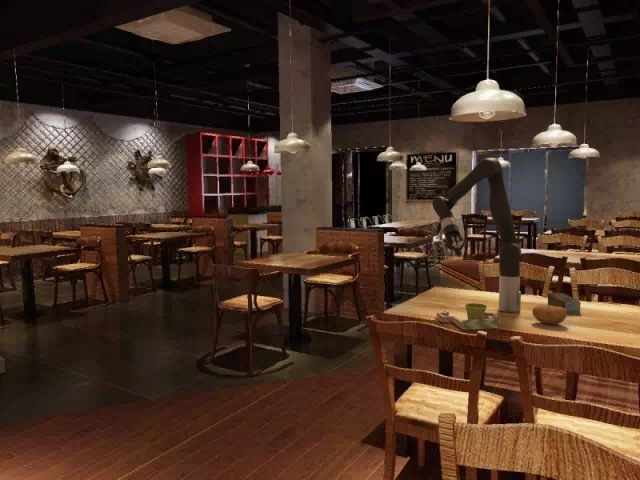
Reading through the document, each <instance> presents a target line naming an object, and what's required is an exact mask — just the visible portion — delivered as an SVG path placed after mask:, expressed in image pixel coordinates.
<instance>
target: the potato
mask: <svg viewBox="0 0 640 480" xmlns="http://www.w3.org/2000/svg"><path fill="white" fill-rule="evenodd" d="M531 311H532V316H533V317H534V319H536V320H537V321H539V322H540V323H541V324H545V325H558V324H561V323H563V322H564V321H565V319H566V318H567V316H568V313H567V312H566V310H565V309H564V308H562V307H556V306H551V305H536V306H534V307H533V308H532V310H531Z"/></svg>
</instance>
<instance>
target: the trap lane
mask: <svg viewBox="0 0 640 480" xmlns="http://www.w3.org/2000/svg"><path fill="white" fill-rule="evenodd" d="M435 314H436V319H438V320H439V321H440V320H441V321H440V322H442V323H453V324H455V325H456V326H457V327H459V328H460V329H461V330H463V331H469V330H491V329H492V330H493V328H496V329H501V316H500V315H498V314H497V313H495V312H493V311H485V314H484V319H474V320H468V319H463V320H461V319H460V318H458V317H457V316H455V315H450V312H449V311H448V310H444V311H436V313H435Z"/></svg>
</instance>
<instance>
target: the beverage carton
mask: <svg viewBox="0 0 640 480" xmlns="http://www.w3.org/2000/svg"><path fill="white" fill-rule="evenodd" d="M547 305H548V306H556V307H562V308H564V309H565V310H566V312H567V314H580V313H581V301H579V300H578V299H575V298H574V297H571V296H570V295H569V294H566V293H564V292H548V293H547Z"/></svg>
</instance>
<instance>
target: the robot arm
mask: <svg viewBox="0 0 640 480" xmlns="http://www.w3.org/2000/svg"><path fill="white" fill-rule="evenodd" d="M502 169H503V168H502V165H501V162H500V161H499V159H498V158H495V157H487V158H484V159H483V158H482V159H481V160H480V161H479V162H478V163H477V164H476V165H475V167H474V168H473V169H472V170H471V171H470V172H469V173H468V174H467V175H466V176H465V177H464V178H462V179H461V180H460V181H459V182H457V184H455V185H454V186H452V187H451V188H450V189H449V190H448V191H447V192H446V197H447V198H446V197H444V196H440V195H437V196H435V197H434V198H433V199H432V207H433V208H432V209H433V210H434V212H435V214H436V215H437V216H438V219H439V222H440V224H441V229H442V232H443V235H444V239H442V242H441V244H442V245H443V246H444V247H446V248H447V249H449V250H450V251H453V252H454V255H455V256H456V257H458V258H459V257H461V256H462V254H463V252H462V250H463V249H464V248H465V245H466V244H467V242H468V239H467V238H463V237H462V235H461V232H460V229H459V227H458V224H457V221H456V219H455V216H454V214H453V212H452V211H451V210H452V209H453V208H454V207H455V206H456V204H457V202H458V201H460V200H461V199H462V198H463V197H465V196H467V194H468V193H469V192H470V191H471V190H472V188H473V187H475V185H477V184H478V183H480V182H481V181H483V180H485V179H487V182H488V186H489V198H488V199H489V200H488V207H489V211H490V212H489V213H490V216H491V219H492V221H493V224H494V226H495V227H496V230H497V232H498V235H499V239H500V245H501V246H500V250H499V258H498V259H499V264H498V265H499V266H498V269H499V285H498V291H499V292H498V310H499V311H501V312H504V313H517V312H521V304H522V303H521V302H522V301H521V300H522V291H520V285H521V283H520V281H521V267H520V266H521V265H520V263H521V255H522V248H521V246H520V243H519V240H518V238H517V235H516V232H515V227H514V219H513V215H512V209H511V205H510V202H509V197H508V194H507V190H506V187H505V182H504V176H503V175H504V174H503V170H502Z"/></svg>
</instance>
